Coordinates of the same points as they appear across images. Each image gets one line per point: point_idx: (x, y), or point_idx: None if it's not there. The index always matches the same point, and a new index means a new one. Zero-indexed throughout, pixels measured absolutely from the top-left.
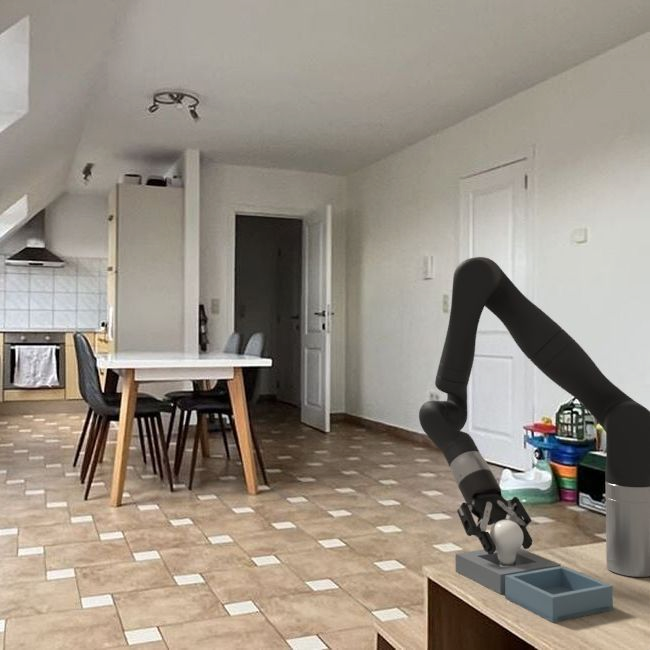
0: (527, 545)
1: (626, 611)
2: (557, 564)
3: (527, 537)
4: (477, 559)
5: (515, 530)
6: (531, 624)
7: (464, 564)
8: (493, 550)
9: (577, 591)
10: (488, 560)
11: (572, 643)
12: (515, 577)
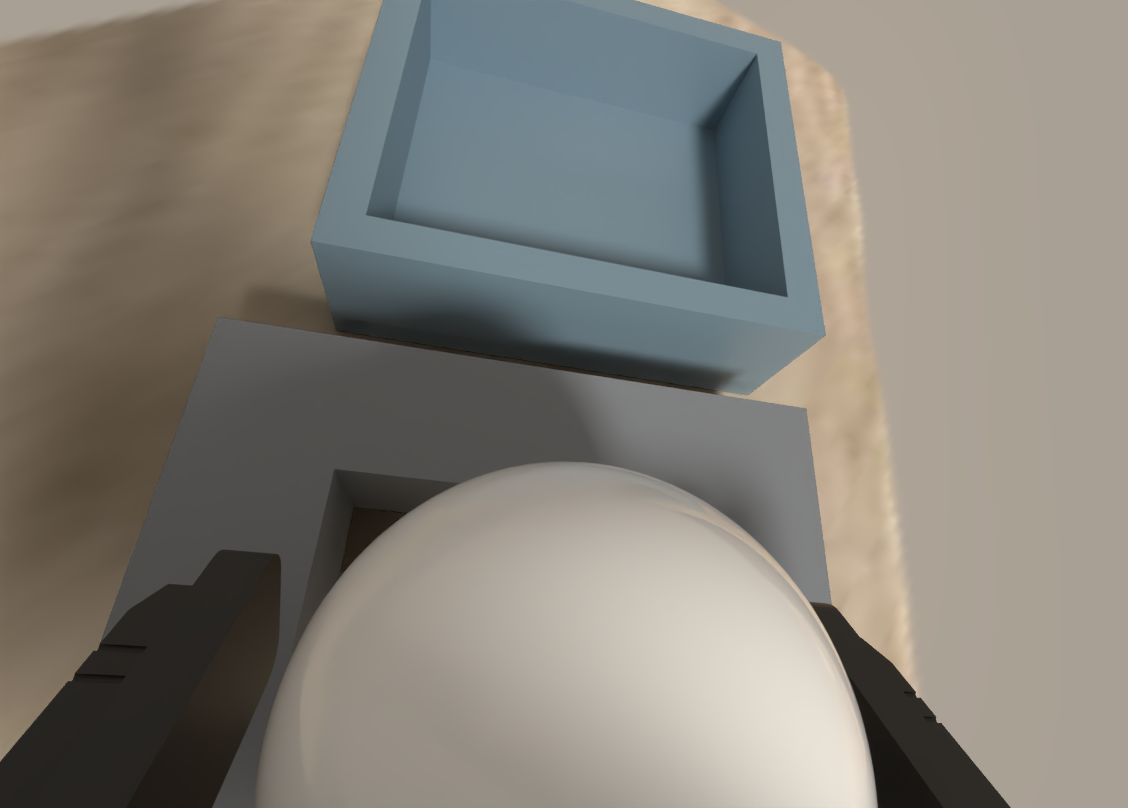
0: (272, 600)
1: (369, 21)
2: (244, 329)
3: (220, 608)
4: None
5: (612, 477)
6: (804, 170)
7: None
8: None
9: (626, 6)
10: None
11: (770, 38)
12: (784, 281)
